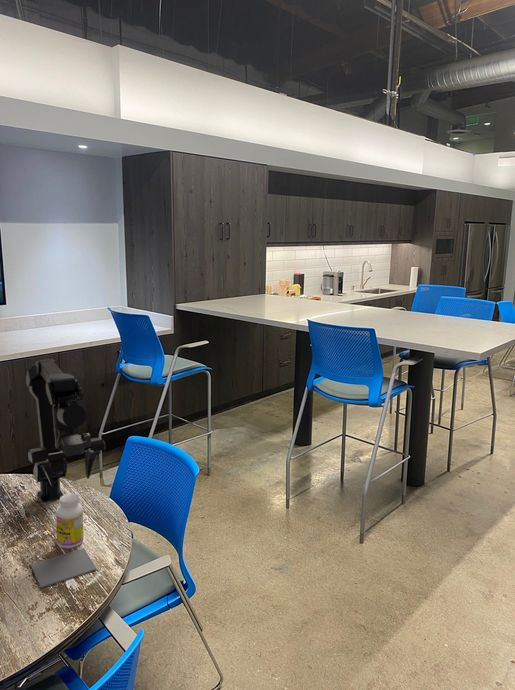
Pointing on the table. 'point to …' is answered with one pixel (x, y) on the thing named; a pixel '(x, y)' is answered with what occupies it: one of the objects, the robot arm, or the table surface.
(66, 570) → the mat
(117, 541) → the table surface
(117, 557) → the table surface
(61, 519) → the supplement bottle
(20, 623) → the table surface
